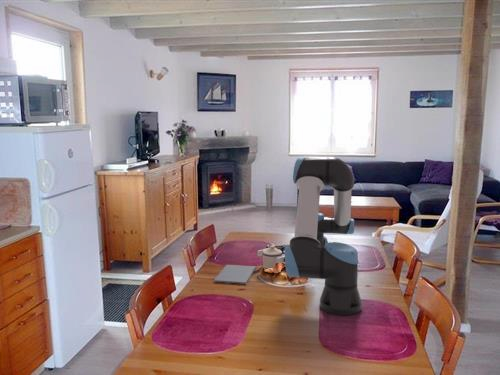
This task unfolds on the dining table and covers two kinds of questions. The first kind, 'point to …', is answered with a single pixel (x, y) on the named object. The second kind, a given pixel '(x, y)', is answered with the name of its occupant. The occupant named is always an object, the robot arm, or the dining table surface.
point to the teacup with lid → (271, 257)
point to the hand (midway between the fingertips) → (267, 257)
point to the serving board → (235, 274)
